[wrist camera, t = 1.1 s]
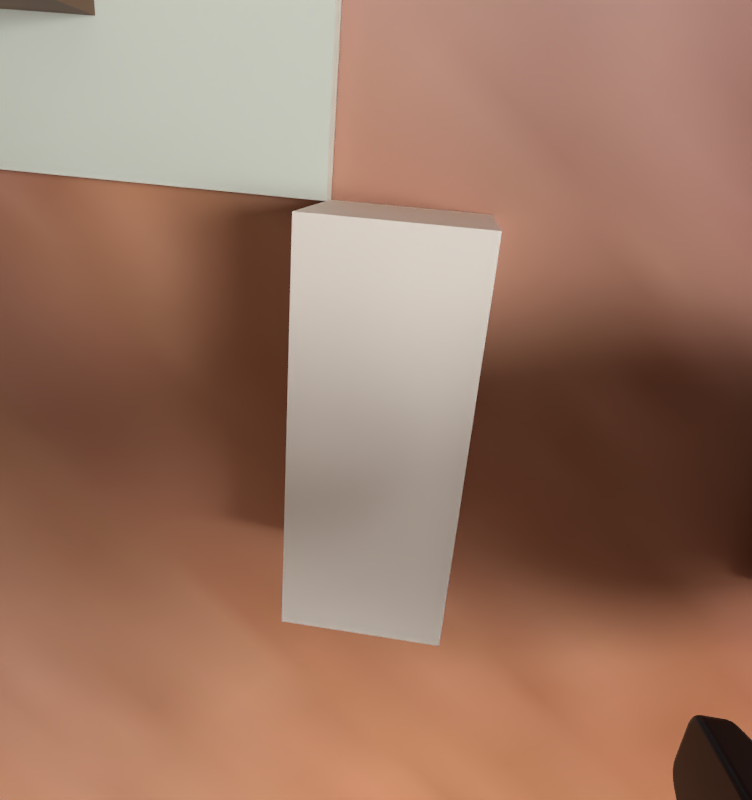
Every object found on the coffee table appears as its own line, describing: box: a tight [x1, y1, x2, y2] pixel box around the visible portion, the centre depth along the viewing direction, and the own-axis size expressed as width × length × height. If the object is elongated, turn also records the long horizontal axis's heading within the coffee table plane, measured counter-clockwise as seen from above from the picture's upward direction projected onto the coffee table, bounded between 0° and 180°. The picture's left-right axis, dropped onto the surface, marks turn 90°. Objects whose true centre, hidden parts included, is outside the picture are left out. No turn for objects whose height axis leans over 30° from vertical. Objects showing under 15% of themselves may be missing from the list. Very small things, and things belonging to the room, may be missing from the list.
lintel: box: [282, 200, 502, 646], centre depth 15 cm, size 4×10×4 cm, turn 175°
